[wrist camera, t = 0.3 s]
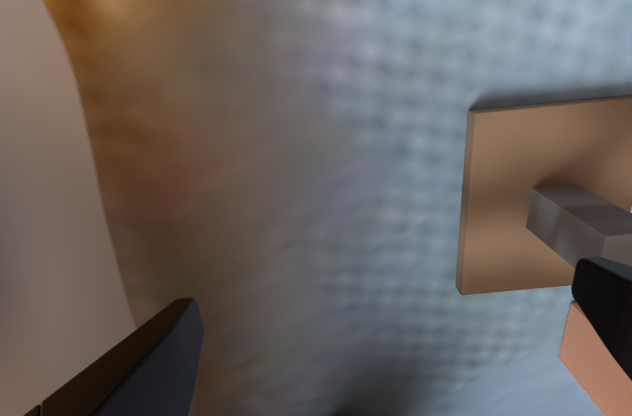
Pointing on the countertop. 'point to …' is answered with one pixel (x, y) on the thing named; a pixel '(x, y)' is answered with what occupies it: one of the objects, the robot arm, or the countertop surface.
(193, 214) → the countertop surface
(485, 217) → the stand
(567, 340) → the salmon orange block
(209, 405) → the countertop surface
